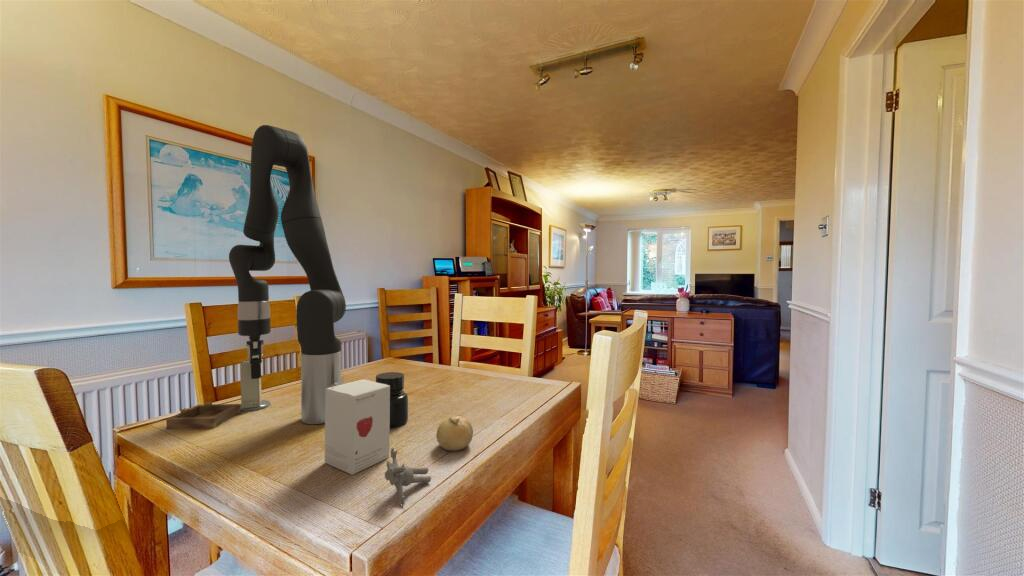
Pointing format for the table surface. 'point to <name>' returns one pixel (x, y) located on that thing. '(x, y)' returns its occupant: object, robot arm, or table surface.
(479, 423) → the table surface
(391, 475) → the grey toy figurine
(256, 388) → the skincare box
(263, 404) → the coaster
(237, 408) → the brown square shallow tray
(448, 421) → the onion
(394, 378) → the ink bottle
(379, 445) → the supplement box
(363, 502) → the table surface
